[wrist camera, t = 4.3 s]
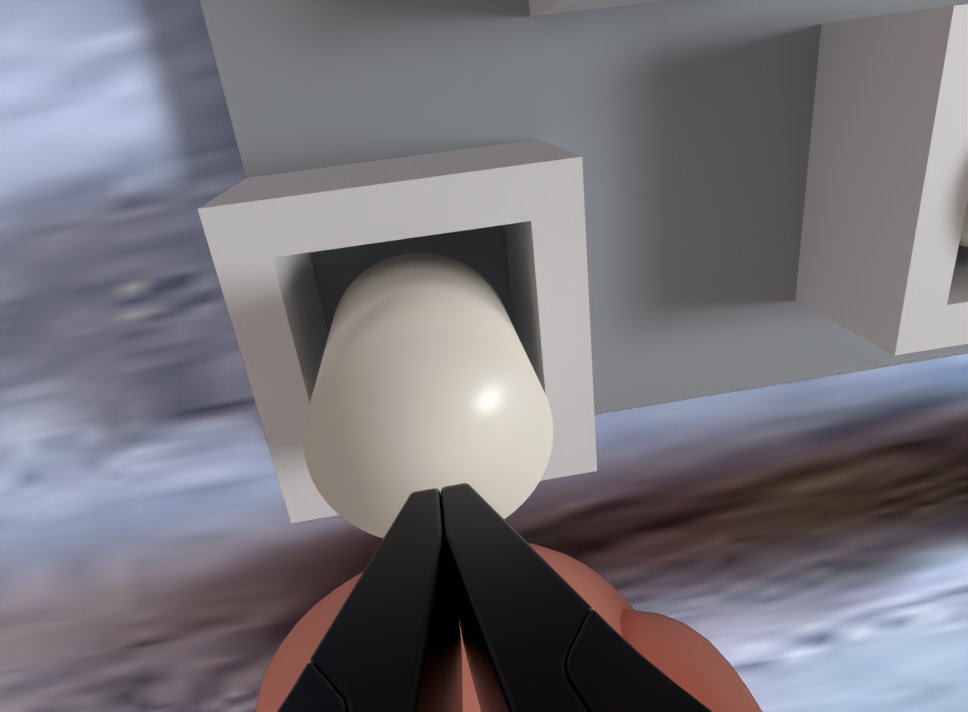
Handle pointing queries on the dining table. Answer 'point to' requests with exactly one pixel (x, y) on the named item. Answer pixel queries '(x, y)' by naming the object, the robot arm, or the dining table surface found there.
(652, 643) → the teapot
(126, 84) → the dining table surface
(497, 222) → the panel
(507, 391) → the plug
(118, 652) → the dining table surface
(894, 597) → the dining table surface
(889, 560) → the dining table surface
